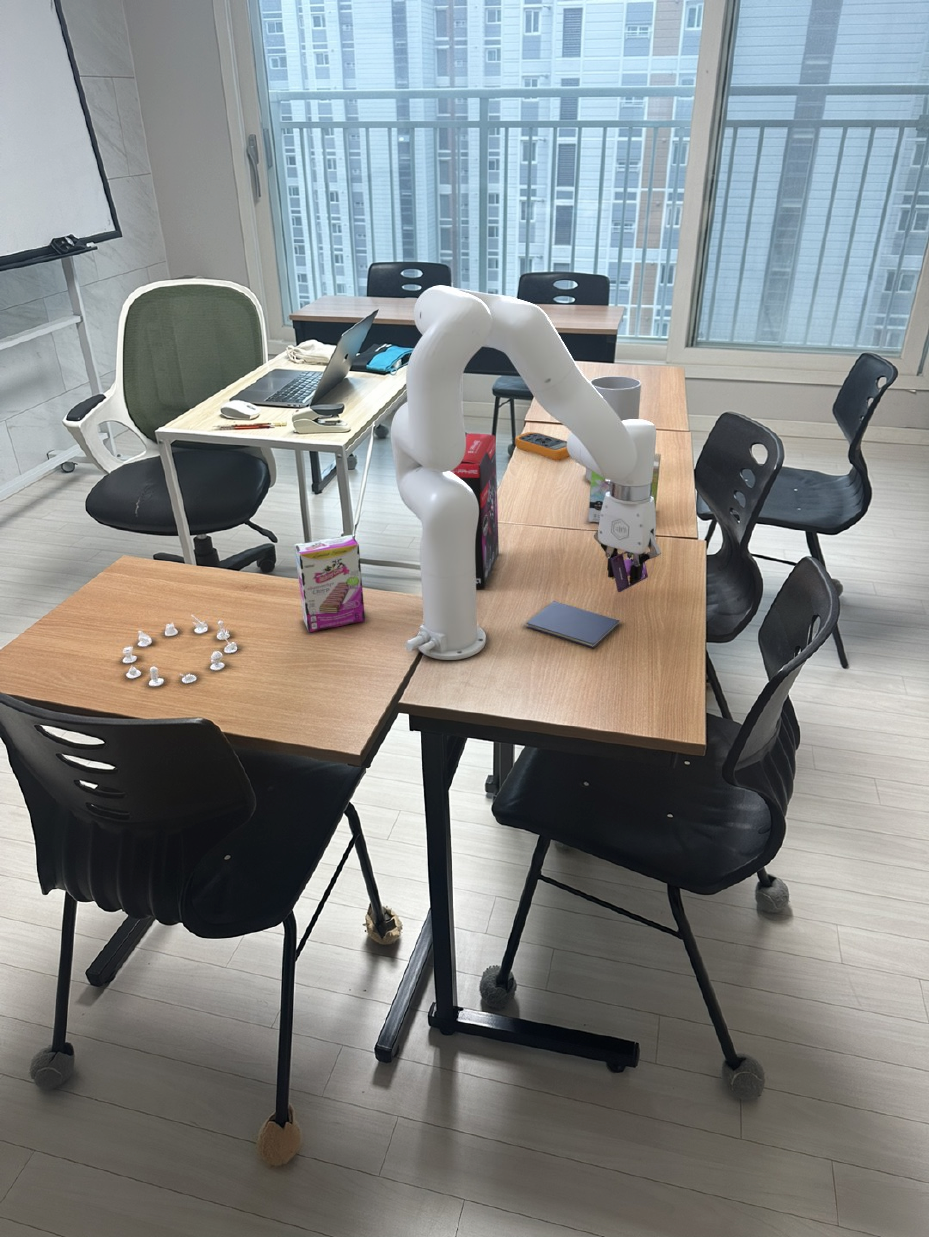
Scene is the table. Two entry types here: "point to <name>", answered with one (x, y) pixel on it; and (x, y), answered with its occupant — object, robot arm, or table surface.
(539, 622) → the notebook
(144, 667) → the table surface
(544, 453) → the multimeter
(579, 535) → the table surface
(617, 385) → the cylinder vase
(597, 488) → the tea box
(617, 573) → the purple toy package
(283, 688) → the table surface
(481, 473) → the graphics card box
